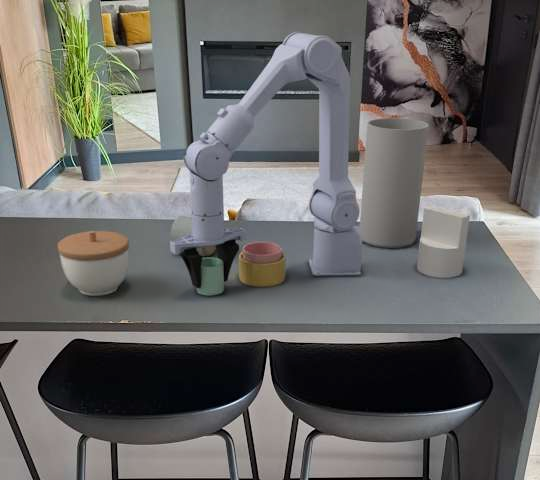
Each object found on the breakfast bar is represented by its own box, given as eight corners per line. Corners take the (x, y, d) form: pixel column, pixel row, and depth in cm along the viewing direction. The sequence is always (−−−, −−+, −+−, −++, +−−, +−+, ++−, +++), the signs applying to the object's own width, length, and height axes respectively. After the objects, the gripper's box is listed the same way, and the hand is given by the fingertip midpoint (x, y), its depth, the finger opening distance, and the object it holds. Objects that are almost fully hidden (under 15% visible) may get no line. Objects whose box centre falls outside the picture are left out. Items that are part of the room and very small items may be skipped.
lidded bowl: (59, 280, 136) (51, 225, 131) (125, 271, 140) (119, 217, 135) (69, 306, 126) (60, 247, 121) (139, 296, 130) (134, 238, 125)
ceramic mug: (205, 262, 145) (204, 225, 142) (170, 256, 148) (168, 220, 144) (227, 246, 154) (226, 212, 150) (193, 241, 156) (192, 207, 153)
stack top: (279, 270, 142) (280, 241, 139) (282, 285, 135) (283, 255, 132) (242, 270, 142) (242, 241, 139) (243, 285, 135) (243, 255, 132)
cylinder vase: (382, 252, 151) (393, 132, 139) (347, 235, 160) (355, 121, 148) (427, 243, 156) (441, 126, 144) (391, 227, 166) (402, 116, 154)
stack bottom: (283, 268, 143) (283, 247, 140) (286, 286, 135) (287, 264, 133) (238, 269, 142) (238, 248, 140) (239, 287, 134) (239, 264, 132)
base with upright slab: (408, 269, 143) (414, 211, 137) (431, 257, 149) (438, 201, 143) (447, 281, 137) (455, 221, 132) (470, 268, 143) (479, 211, 137)
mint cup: (223, 284, 135) (223, 257, 132) (224, 295, 130) (223, 267, 128) (197, 284, 135) (195, 257, 132) (196, 295, 130) (194, 267, 127)
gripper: (231, 199, 132) (232, 268, 138) (160, 212, 125) (165, 283, 131) (251, 209, 127) (251, 280, 133) (178, 223, 120) (183, 297, 126)
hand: (210, 282), depth 132 cm, fingers closed on mint cup, 5 cm apart
